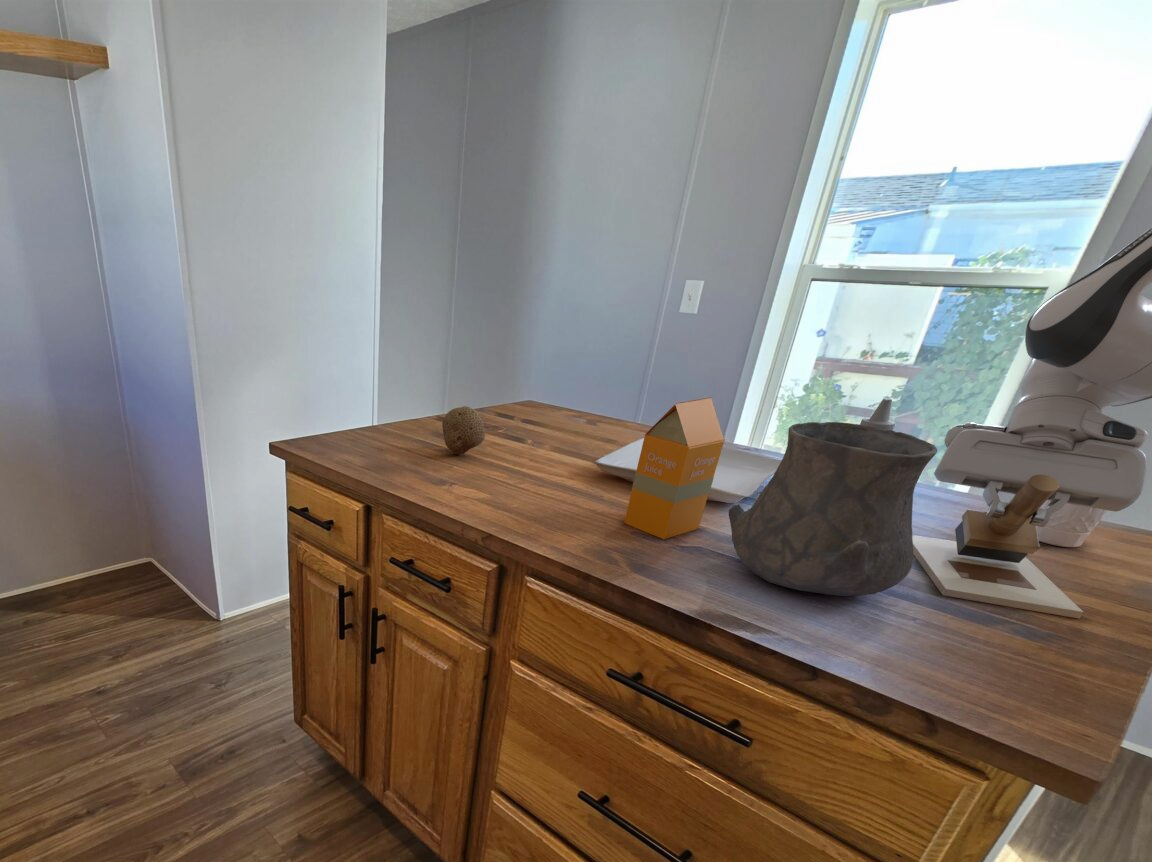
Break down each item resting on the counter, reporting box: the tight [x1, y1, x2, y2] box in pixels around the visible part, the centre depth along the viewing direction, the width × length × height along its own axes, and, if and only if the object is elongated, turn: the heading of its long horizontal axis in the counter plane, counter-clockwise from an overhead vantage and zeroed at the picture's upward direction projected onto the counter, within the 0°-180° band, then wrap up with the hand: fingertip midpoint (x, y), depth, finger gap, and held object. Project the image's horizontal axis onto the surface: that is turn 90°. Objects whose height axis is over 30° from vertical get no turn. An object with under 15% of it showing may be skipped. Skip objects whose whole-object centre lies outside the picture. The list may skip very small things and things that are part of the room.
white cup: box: [1036, 500, 1108, 548], centre depth 101 cm, size 8×8×10 cm
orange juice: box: [623, 396, 726, 540], centre depth 101 cm, size 8×9×20 cm
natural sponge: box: [441, 405, 487, 456], centre depth 136 cm, size 9×9×10 cm
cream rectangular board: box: [912, 534, 1084, 619], centre depth 92 cm, size 14×20×1 cm
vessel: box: [728, 421, 938, 597], centre depth 86 cm, size 22×22×20 cm
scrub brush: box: [954, 475, 1059, 563], centre depth 90 cm, size 8×6×13 cm
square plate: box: [593, 437, 782, 504], centre depth 126 cm, size 27×27×4 cm
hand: (1016, 519), depth 89 cm, fingers closed on scrub brush, 3 cm apart
